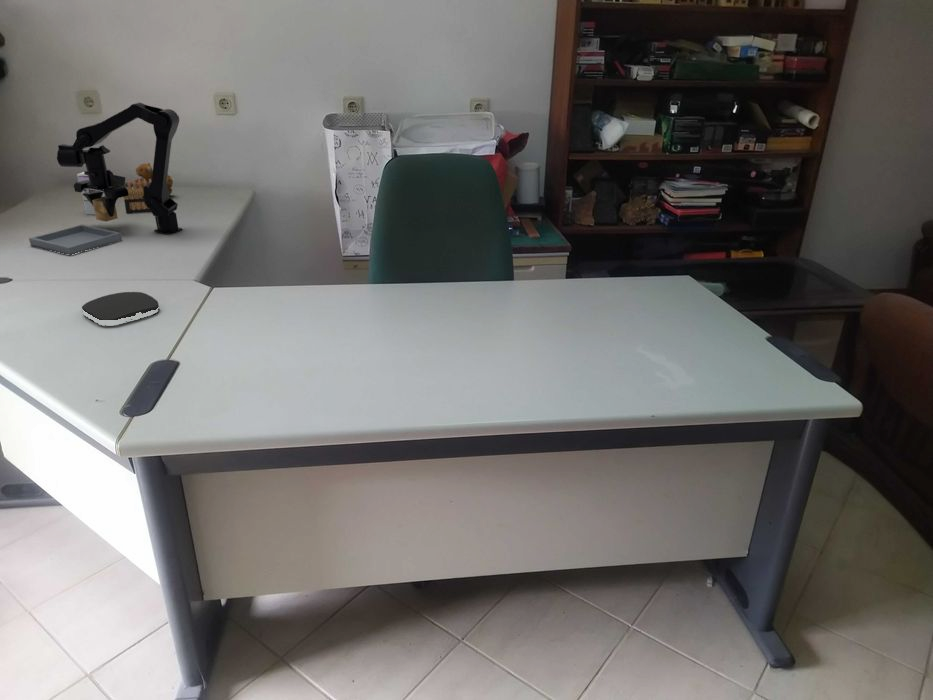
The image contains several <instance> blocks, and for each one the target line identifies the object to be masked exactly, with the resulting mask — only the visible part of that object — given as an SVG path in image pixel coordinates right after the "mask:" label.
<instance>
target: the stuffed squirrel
mask: <svg viewBox="0 0 933 700" xmlns="http://www.w3.org/2000/svg"><path fill="white" fill-rule="evenodd" d="M152 173H153V167H152V166H151V163H150V162H147V163H141V164H140V165H138V166H137V167H135V174H136V176H137V177H139V178H136V179H134V180H135V182H136V185H137V189H138V190H139V187H138V179H140V181H141V184H142V188H143V191H144V179H145V180H146V182H147V184H149V179H151V181H152ZM173 183H174V181H173V178H172V176H171V175H169V174H168V175H167V185H168V189H169V196H170V195H171V194H172V192H173V188H172V186H173Z"/></svg>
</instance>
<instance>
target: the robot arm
mask: <svg viewBox="0 0 933 700" xmlns="http://www.w3.org/2000/svg"><path fill="white" fill-rule="evenodd" d="M136 119H137V120H138V119H141V121H144V122H145V123H148V124H149V125H153V132H154V135H155V147H154V157H153V164H152V170H153V173H152V181H151V183H149V184H147V185H145V186H144V195H143V197H142V198H144V203H145V205H146V206H147V207H148V208H149V209H150V210H151V212H150V213H151V214H152V215H153V217H154V218H155V224H156V229H154V230H153V231H154V232H155V233H159V234H160V233H161V234H163V235H171V234H173V233H177V232H180V231H183V228H182V227H179V223H178V218H177V213H176V211H177V210H178V205H179V204H178V203H177V202H176V201H175V200H174V199H172V198H171V197H170V195H169V189H168V185H167V175H169V174H168V173H169V166H170V165H169V164H170V157H171V149H172V142H173V138H174V136H175V134H176V132H177V130H178V126H179V124H180V116H179V115H178V113H177V112H176V111H175V110H173V109H170V108H167V109H166V108H165V109H163V108H160V107H156V106H152V105H148V104H145V103H142V102H135V103H133V104H131V105H130V106H128V107H126V108H124V110H121V111H119V112H117V113H115V114H114V115H112V116H110V117H108V118H107V119H105V120H102V121H101V122H98V123H94V124H91V125H88V126H85V127H81V128H79V129H78V130H76V134H75V136H76V139H75V140H74V142H73V144H70V145H68V144H64V143H63V144H59V145H57V148H58V150H57V156H56V160H57V163H58V165H59V166H60V167H65V168H66V167H69V168H82V167H83V166H84V165H85V168H86V170H84V171H83V172H84V174H85V175H88V178H89V180H86V181H81V182H79V181H76V182H74V185H73V189H74V192H76V193H81V192H82V191H83V190H84V193H83V195H84V196H85V197H86V198H87V199H88V200H89V202H90V203H91V204H92V205H93V201H92V200H95V199H99V198H101V200H102V202H103V204H104V206H105V208H106V210H107V212H108V214H109V216H110V217H112V216H113V215H114V209H115V207H116V203H117V200H118V199H119V198H124V196H129V192H128V187H127V186H126V187H125V185H126V178H127V177H126V176H121V175H117V174H113V173H114V172H113V171H111V170H110V169H107V165H106V164H107V163H106V160H105V159H106V158H105V155H107V154H109V153H110V152H111V150H110V149H109V148H107V147H106V146H105V145H104V144H102V145H100V144H101V143H102V142H103V141H104V140H106V139H107V138H108V136H110V135H111V134H112V133H113V132H114V131H117V130H118V129H120V128H122V127H123V126H126V125H128V124H129V123H131V122H133V121H135V120H136ZM96 145H100V146H99V147H94V146H96ZM86 148H88V149H86ZM122 186H123V187H122ZM103 189H104V190H103ZM103 193H104V194H105V197H102V195H103ZM93 206H94V205H93Z"/></svg>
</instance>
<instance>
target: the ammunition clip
mask: <svg viewBox="0 0 933 700" xmlns="http://www.w3.org/2000/svg"><path fill="white" fill-rule="evenodd" d="M137 179H138V187H139V189H137V185H136V182H135V180H136V179H133V180H132V184H131V181H130V179H127V183H126V184H127V185H126V184H125V187H126V188H127V189H128V192H129V196H124V197H123V200H124V207H125V213H126V214H127V215H128V214H129V215H130V214H142V213H145V214H146V213H152V212H151V210H150V209H149V208H148V207H147V206H146V205H145V203H144V198H142V197H143V195H144V191H143V188H142V184H141V181H140V179H141V178H137ZM149 183H151V179H149ZM145 185H147V182H146V180H145V179H144V186H145ZM122 187H123V186H122Z"/></svg>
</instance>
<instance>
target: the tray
mask: <svg viewBox="0 0 933 700" xmlns="http://www.w3.org/2000/svg"><path fill="white" fill-rule="evenodd" d="M122 238H123V237H122V234H121V232H118V231H113V230H108V229H104V228H101V227H100V228H99V227H96V226H91V225H86V224H77V225H74V226H71V227H67V228H63V229H58V230H55V231H52V232H48V233H44V234H40V235H35V236H32V237H29V238H28V241H29V243H30V246H31V247H33V248H37V247H38V248H37V249H41V248H42V249H41V250H45V249H47V250H46V251H49V250H52V251H51V252H53V251H56V252H55V253H57V252H60V253H59V254H61V253H64V254H63V255H65V254H69V255H72V254H75V253H78V252H81V251H85V250H89V249H92V250H94V249H93V248H96V249H98V248H97V247H99V248H101V246H102V247H105V246H109V245H111V243H112V244H115V243H118V242H121V241H123V239H122ZM108 244H109V245H108ZM104 245H105V246H104ZM89 251H90V250H89ZM69 255H68V256H69ZM72 256H73V255H72Z"/></svg>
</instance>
